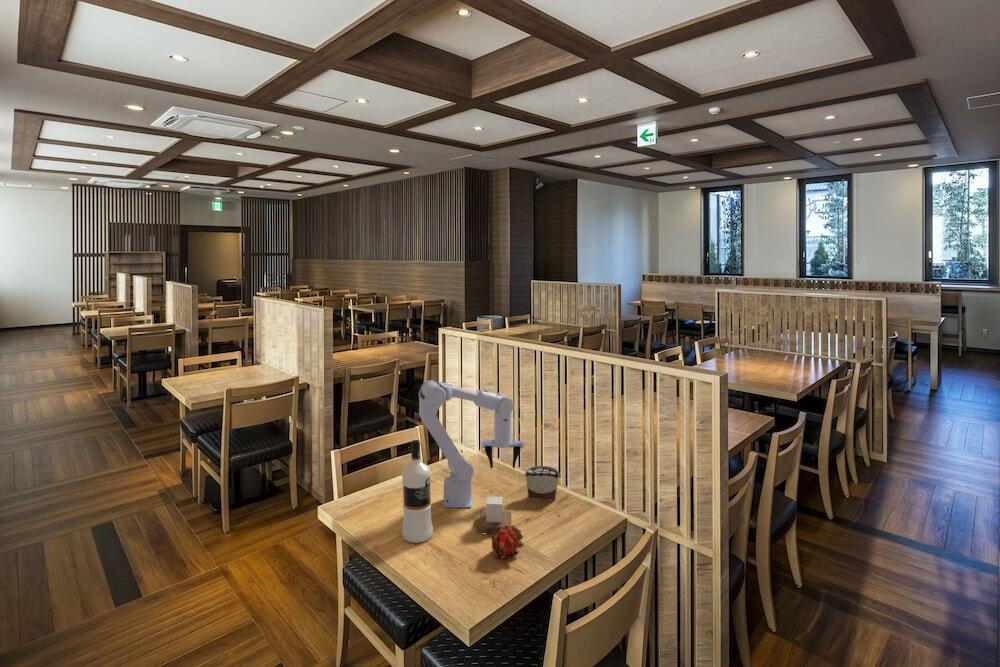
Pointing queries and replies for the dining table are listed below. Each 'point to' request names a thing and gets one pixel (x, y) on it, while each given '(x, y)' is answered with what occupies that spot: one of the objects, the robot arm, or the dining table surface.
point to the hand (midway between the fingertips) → (502, 466)
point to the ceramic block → (494, 509)
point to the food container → (542, 482)
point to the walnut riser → (492, 523)
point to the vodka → (416, 498)
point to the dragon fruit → (507, 541)
